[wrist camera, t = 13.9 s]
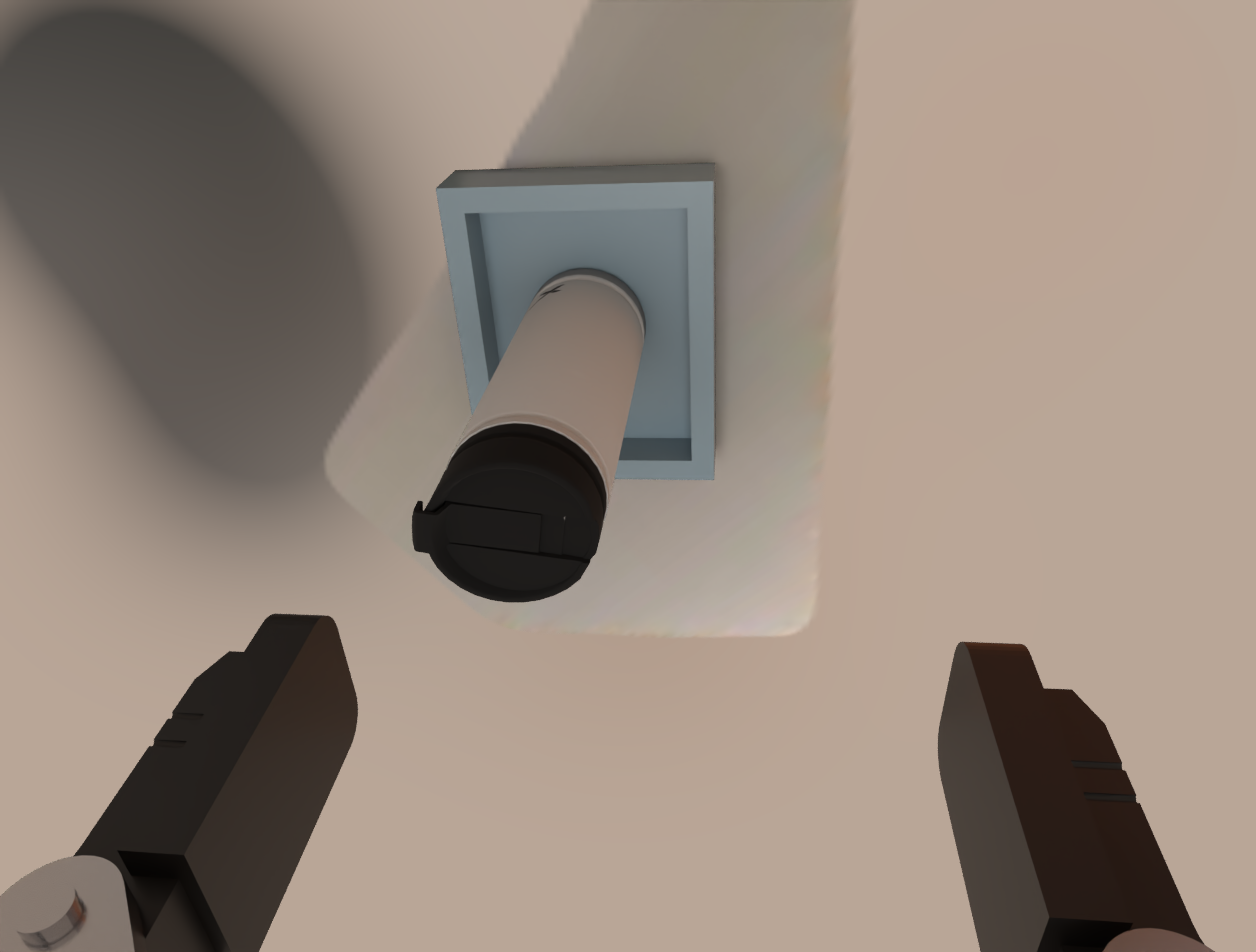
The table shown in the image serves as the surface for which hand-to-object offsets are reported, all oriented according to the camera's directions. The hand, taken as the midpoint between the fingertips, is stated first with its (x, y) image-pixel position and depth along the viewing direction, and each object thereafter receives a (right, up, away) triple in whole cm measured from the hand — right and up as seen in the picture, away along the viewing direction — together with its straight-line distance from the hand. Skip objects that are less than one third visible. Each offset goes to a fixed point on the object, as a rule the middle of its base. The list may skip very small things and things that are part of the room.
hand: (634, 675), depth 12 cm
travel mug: (-2, +11, +37) cm, 38 cm away
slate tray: (-2, +11, +38) cm, 39 cm away
